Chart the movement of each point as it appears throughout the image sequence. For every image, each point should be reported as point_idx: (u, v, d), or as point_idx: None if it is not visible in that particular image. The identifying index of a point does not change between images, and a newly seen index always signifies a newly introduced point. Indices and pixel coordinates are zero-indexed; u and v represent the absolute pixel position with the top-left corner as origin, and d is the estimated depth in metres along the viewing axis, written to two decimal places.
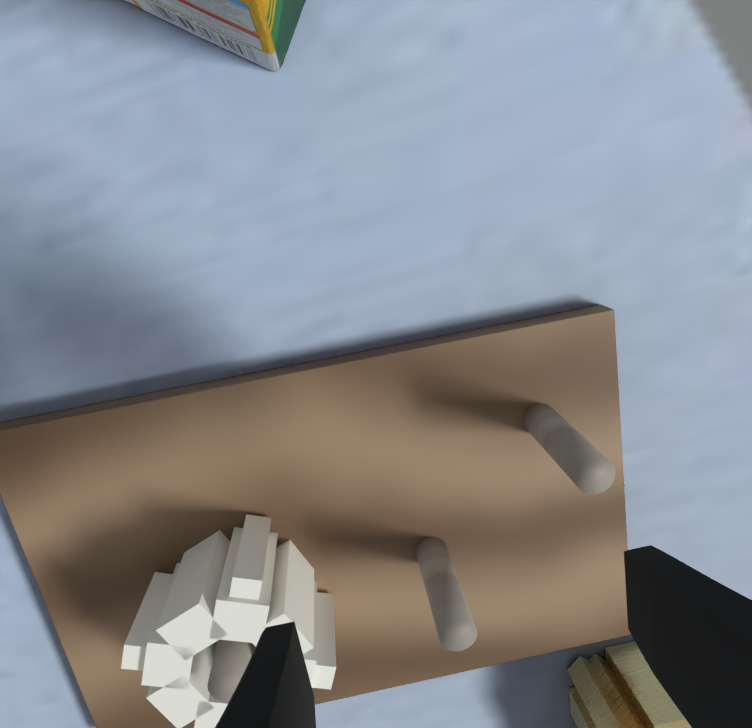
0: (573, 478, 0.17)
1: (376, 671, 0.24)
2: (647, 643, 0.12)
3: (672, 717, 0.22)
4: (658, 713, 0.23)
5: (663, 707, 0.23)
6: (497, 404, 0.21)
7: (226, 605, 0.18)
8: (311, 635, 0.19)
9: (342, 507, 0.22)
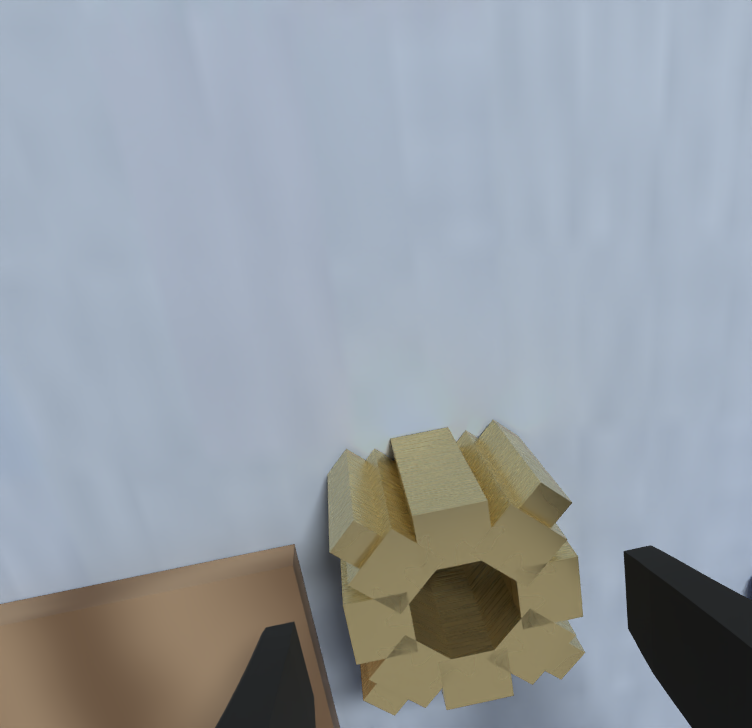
0: None
1: None
2: (647, 643, 0.12)
3: None
4: None
5: None
6: None
7: None
8: None
9: None
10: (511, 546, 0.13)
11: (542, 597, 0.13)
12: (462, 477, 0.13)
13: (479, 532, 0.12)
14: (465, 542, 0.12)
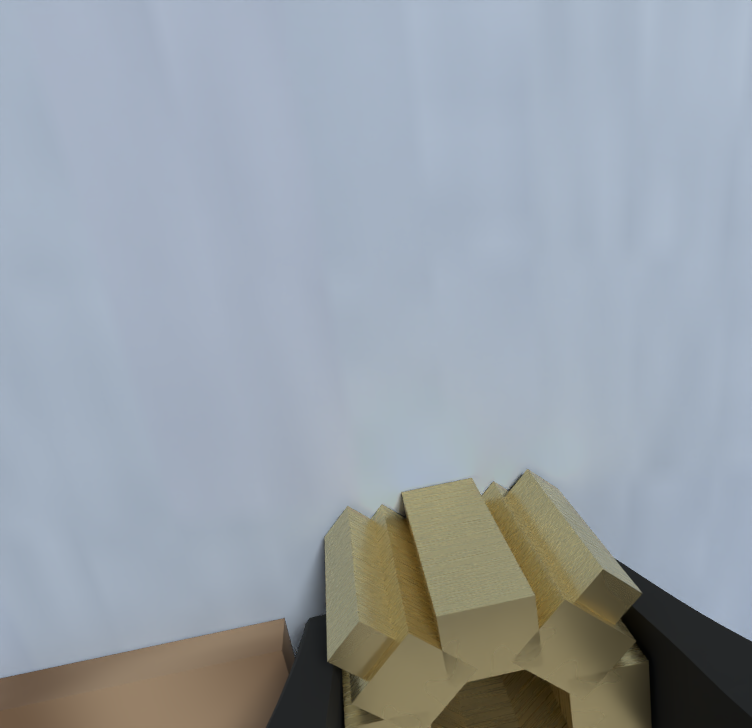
0: None
1: None
2: None
3: None
4: None
5: None
6: None
7: None
8: None
9: None
10: (564, 651, 0.10)
11: (601, 712, 0.10)
12: (497, 554, 0.10)
13: (523, 634, 0.10)
14: (505, 647, 0.10)
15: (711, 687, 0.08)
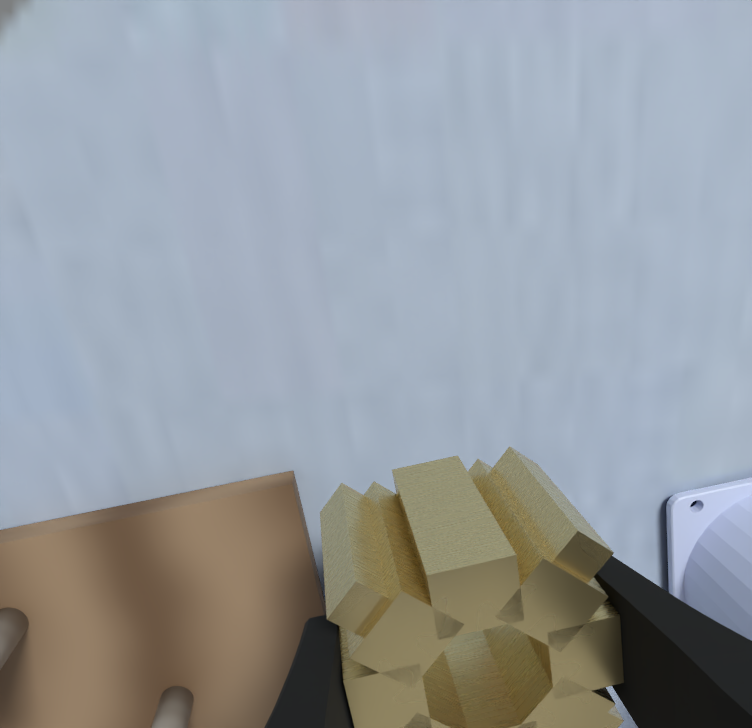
0: None
1: None
2: None
3: None
4: None
5: None
6: None
7: None
8: None
9: None
10: (543, 606, 0.11)
11: (578, 663, 0.11)
12: (482, 521, 0.11)
13: (506, 591, 0.10)
14: (489, 603, 0.10)
15: (712, 685, 0.08)
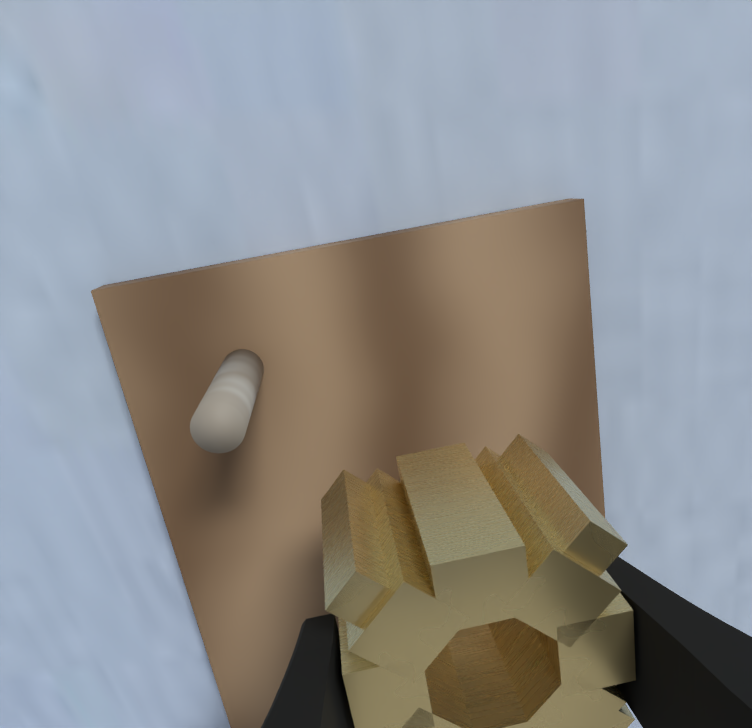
0: None
1: None
2: None
3: None
4: None
5: None
6: None
7: None
8: None
9: None
10: (552, 600, 0.10)
11: (588, 659, 0.11)
12: (489, 510, 0.11)
13: (513, 584, 0.10)
14: (496, 596, 0.10)
15: (718, 685, 0.08)
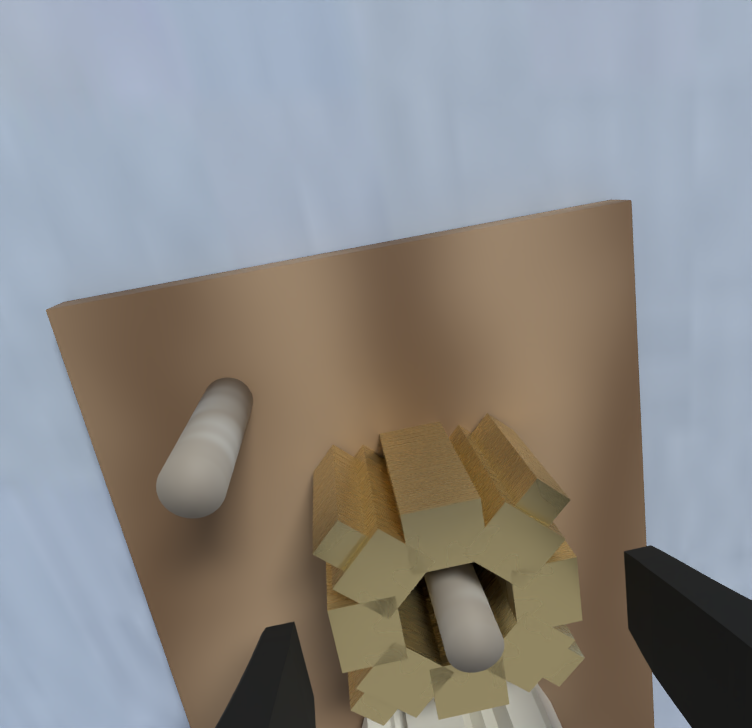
0: (204, 512, 0.11)
1: (616, 580, 0.17)
2: (647, 643, 0.12)
3: None
4: None
5: None
6: None
7: None
8: None
9: None
10: (506, 546, 0.12)
11: (539, 600, 0.12)
12: (454, 473, 0.13)
13: (472, 532, 0.12)
14: (457, 542, 0.12)
15: None
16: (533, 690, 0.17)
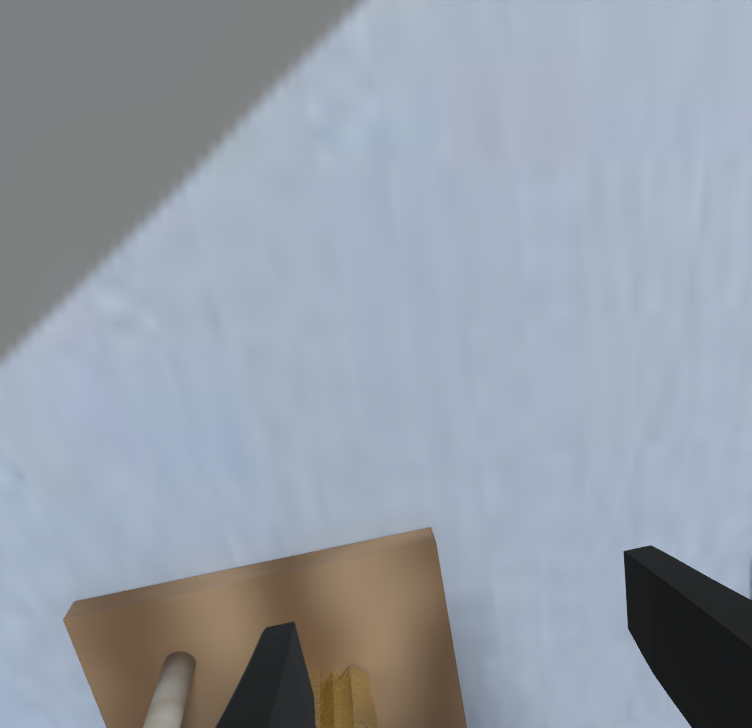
0: None
1: None
2: (646, 643, 0.12)
3: None
4: None
5: None
6: None
7: None
8: None
9: None
10: None
11: None
12: None
13: None
14: None
15: None
16: None
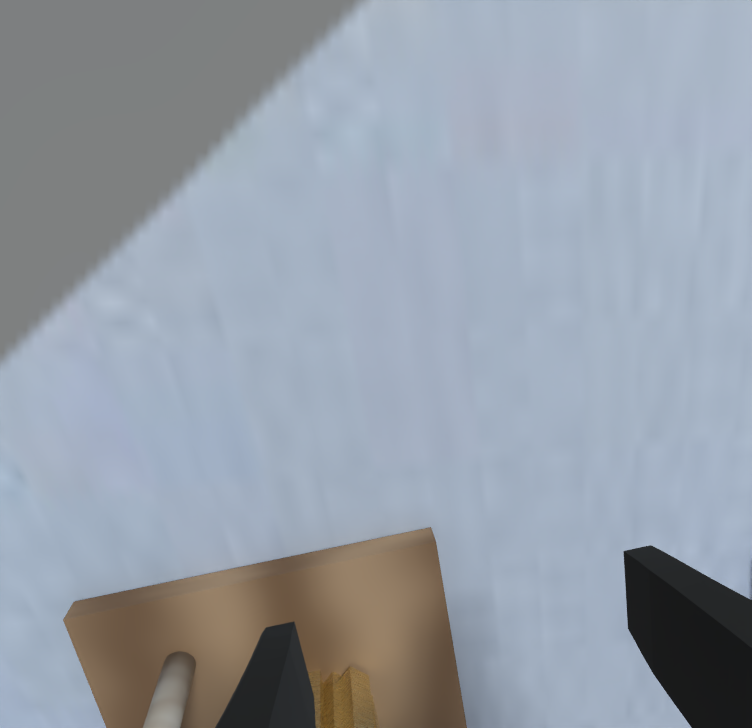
0: None
1: None
2: (646, 643, 0.12)
3: None
4: None
5: None
6: None
7: None
8: None
9: None
10: None
11: None
12: None
13: None
14: None
15: None
16: None
